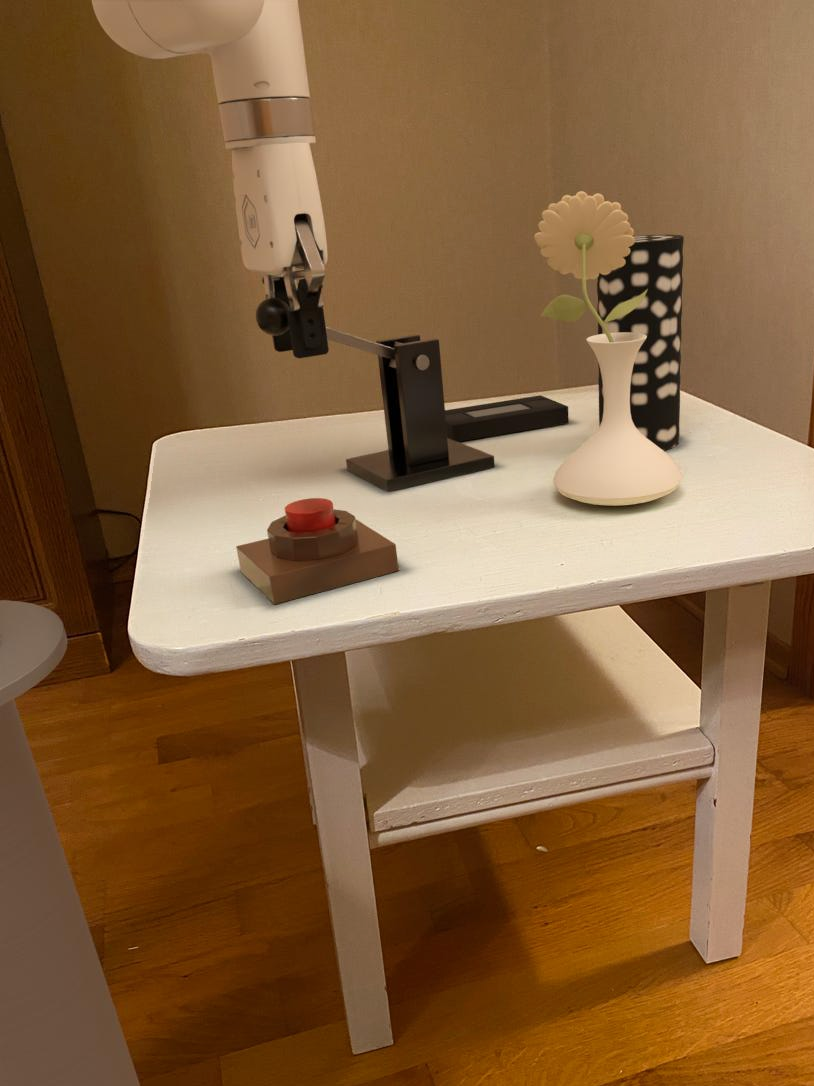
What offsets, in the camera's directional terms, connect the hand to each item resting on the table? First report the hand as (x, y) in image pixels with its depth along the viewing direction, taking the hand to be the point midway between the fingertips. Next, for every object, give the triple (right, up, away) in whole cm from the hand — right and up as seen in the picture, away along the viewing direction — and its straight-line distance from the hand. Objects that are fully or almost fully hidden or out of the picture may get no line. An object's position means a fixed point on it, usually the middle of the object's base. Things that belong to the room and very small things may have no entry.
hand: (301, 350), depth 88 cm
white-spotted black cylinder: (+33, -6, +14) cm, 36 cm away
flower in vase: (+28, -14, -1) cm, 31 cm away
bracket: (+10, -9, +10) cm, 17 cm away
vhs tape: (+19, -2, +24) cm, 30 cm away
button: (+4, -18, -15) cm, 24 cm away
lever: (+3, 0, +2) cm, 4 cm away
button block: (+4, -21, -13) cm, 25 cm away
